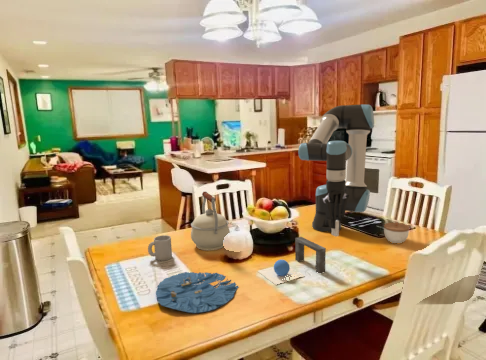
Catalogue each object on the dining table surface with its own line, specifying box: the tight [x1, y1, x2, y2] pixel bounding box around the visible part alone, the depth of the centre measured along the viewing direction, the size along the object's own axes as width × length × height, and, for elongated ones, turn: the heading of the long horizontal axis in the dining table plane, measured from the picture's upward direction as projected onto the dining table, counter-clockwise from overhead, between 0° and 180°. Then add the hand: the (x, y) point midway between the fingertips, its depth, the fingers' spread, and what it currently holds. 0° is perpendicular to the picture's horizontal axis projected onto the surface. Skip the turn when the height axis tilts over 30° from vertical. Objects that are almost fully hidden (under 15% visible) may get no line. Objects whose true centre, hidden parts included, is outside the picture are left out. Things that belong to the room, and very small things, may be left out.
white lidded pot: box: [383, 221, 410, 244], centre depth 159 cm, size 11×11×9 cm
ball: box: [273, 259, 291, 276], centre depth 129 cm, size 6×6×6 cm
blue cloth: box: [155, 271, 240, 314], centre depth 119 cm, size 30×30×5 cm
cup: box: [147, 234, 173, 261], centre depth 148 cm, size 7×10×9 cm
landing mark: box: [257, 265, 305, 286], centre depth 130 cm, size 13×13×1 cm
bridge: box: [294, 236, 327, 274], centre depth 136 cm, size 3×15×10 cm, turn 28°
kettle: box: [190, 191, 231, 251], centre depth 161 cm, size 25×18×25 cm
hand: (335, 235), depth 141 cm, fingers closed
